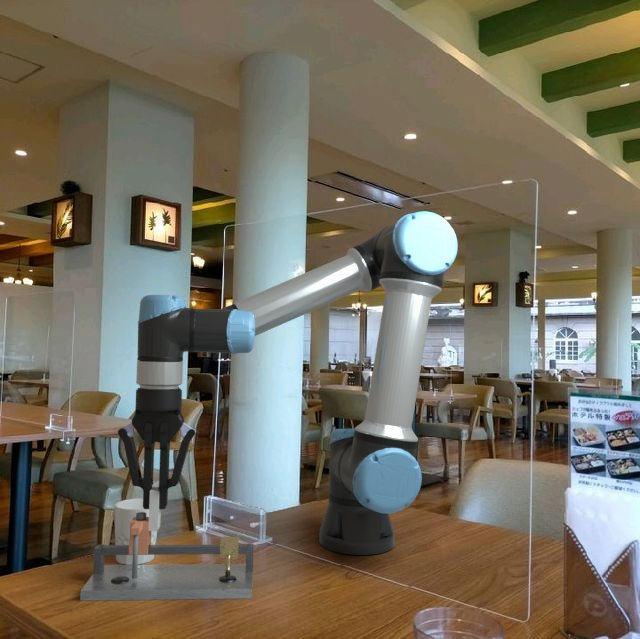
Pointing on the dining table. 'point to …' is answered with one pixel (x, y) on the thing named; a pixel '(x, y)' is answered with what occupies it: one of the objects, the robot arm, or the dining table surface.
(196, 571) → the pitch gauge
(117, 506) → the white cup
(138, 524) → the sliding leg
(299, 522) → the dining table surface
